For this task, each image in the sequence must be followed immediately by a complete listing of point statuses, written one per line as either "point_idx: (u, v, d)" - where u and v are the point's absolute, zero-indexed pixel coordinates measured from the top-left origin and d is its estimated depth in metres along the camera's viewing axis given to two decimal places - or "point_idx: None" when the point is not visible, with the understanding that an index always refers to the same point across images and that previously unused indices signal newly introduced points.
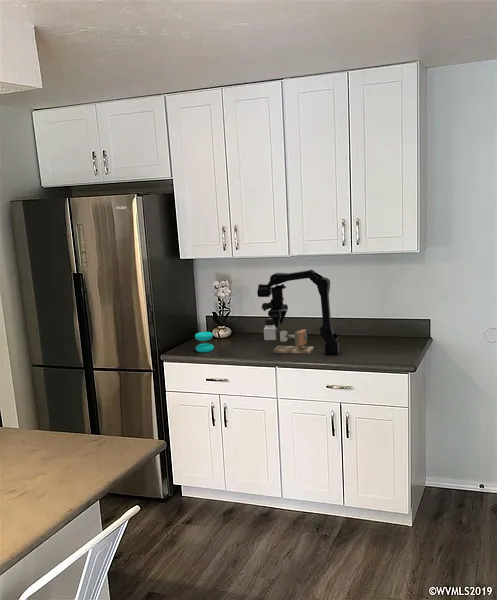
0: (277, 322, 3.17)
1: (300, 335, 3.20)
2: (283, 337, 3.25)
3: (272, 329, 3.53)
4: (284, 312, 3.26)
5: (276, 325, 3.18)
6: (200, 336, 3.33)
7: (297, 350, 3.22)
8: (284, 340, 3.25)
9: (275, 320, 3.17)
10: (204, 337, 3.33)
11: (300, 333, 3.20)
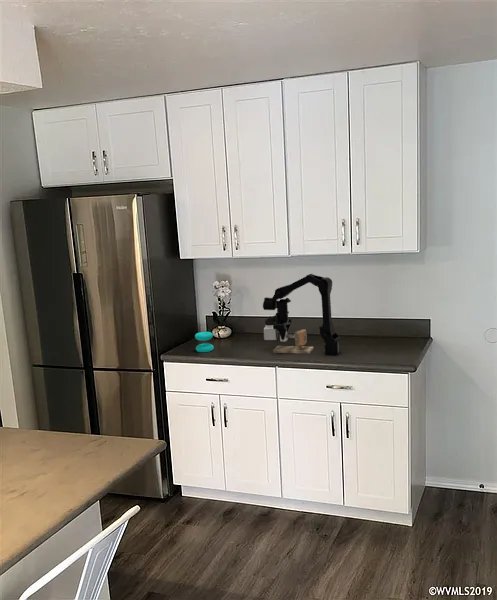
0: (283, 334, 3.24)
1: (300, 335, 3.20)
2: None
3: (272, 329, 3.53)
4: (288, 326, 3.28)
5: (282, 337, 3.24)
6: (200, 336, 3.33)
7: (297, 350, 3.22)
8: (284, 340, 3.25)
9: (281, 332, 3.23)
10: (204, 337, 3.33)
11: (300, 333, 3.20)
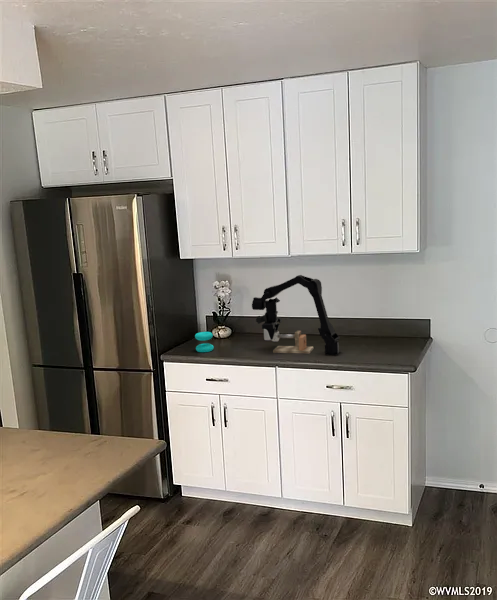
0: (272, 334, 3.26)
1: (300, 340, 3.21)
2: (275, 337, 3.27)
3: None
4: (277, 326, 3.30)
5: (271, 337, 3.26)
6: (200, 336, 3.33)
7: (297, 350, 3.22)
8: (276, 340, 3.27)
9: (270, 332, 3.25)
10: (204, 337, 3.33)
11: (300, 338, 3.21)
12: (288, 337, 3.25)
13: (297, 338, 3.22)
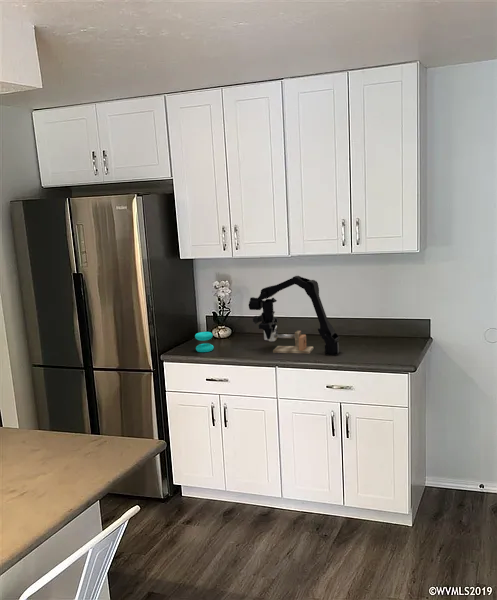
0: (269, 334, 3.26)
1: (300, 340, 3.21)
2: (271, 337, 3.27)
3: None
4: (273, 326, 3.31)
5: (268, 337, 3.27)
6: (200, 336, 3.33)
7: (297, 350, 3.22)
8: (272, 340, 3.27)
9: (267, 332, 3.26)
10: (204, 337, 3.33)
11: (300, 338, 3.21)
12: (285, 337, 3.26)
13: (297, 338, 3.22)
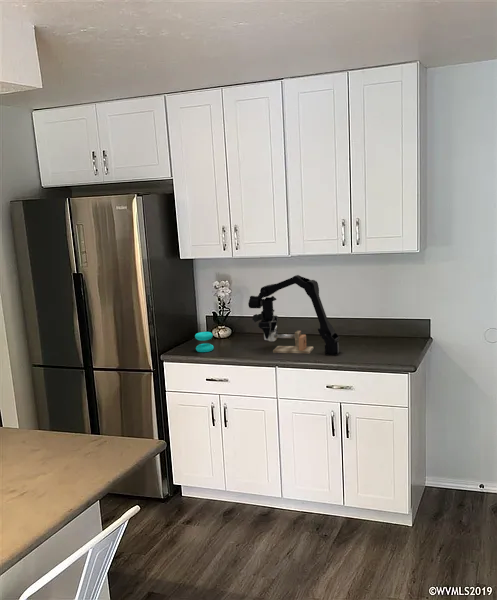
0: (267, 333, 3.24)
1: (300, 340, 3.21)
2: (271, 337, 3.27)
3: None
4: (274, 323, 3.33)
5: (266, 336, 3.25)
6: (200, 336, 3.33)
7: (297, 350, 3.22)
8: (272, 340, 3.27)
9: (265, 331, 3.24)
10: (204, 337, 3.33)
11: (300, 338, 3.21)
12: (285, 337, 3.26)
13: (297, 338, 3.22)
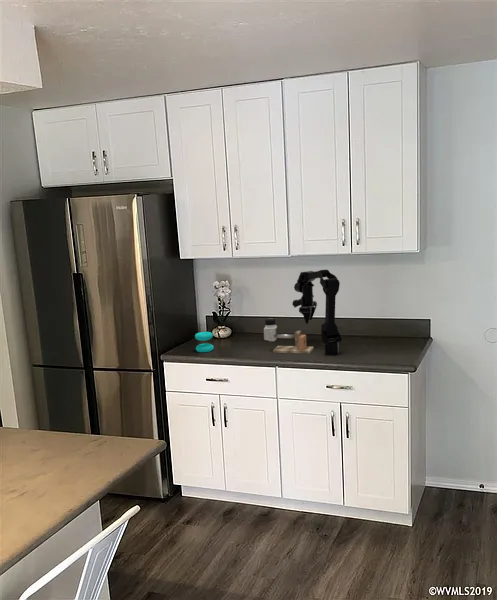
0: (308, 318, 3.30)
1: (300, 340, 3.21)
2: (271, 337, 3.27)
3: (272, 329, 3.53)
4: (313, 309, 3.39)
5: (306, 321, 3.31)
6: (200, 336, 3.33)
7: (297, 350, 3.22)
8: (272, 340, 3.27)
9: (306, 316, 3.30)
10: (204, 337, 3.33)
11: (300, 338, 3.21)
12: (285, 337, 3.26)
13: (297, 338, 3.22)
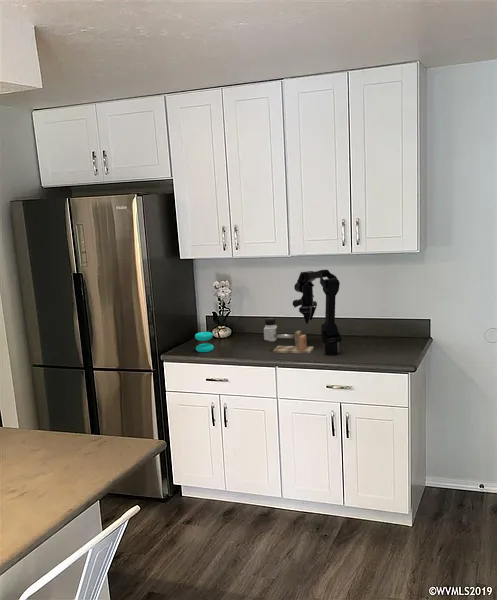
0: (308, 318, 3.30)
1: (300, 340, 3.21)
2: (271, 337, 3.27)
3: (272, 329, 3.53)
4: (313, 309, 3.39)
5: (306, 321, 3.31)
6: (200, 336, 3.33)
7: (297, 350, 3.22)
8: (272, 340, 3.27)
9: (306, 316, 3.30)
10: (204, 337, 3.33)
11: (300, 338, 3.21)
12: (285, 337, 3.26)
13: (297, 338, 3.22)
